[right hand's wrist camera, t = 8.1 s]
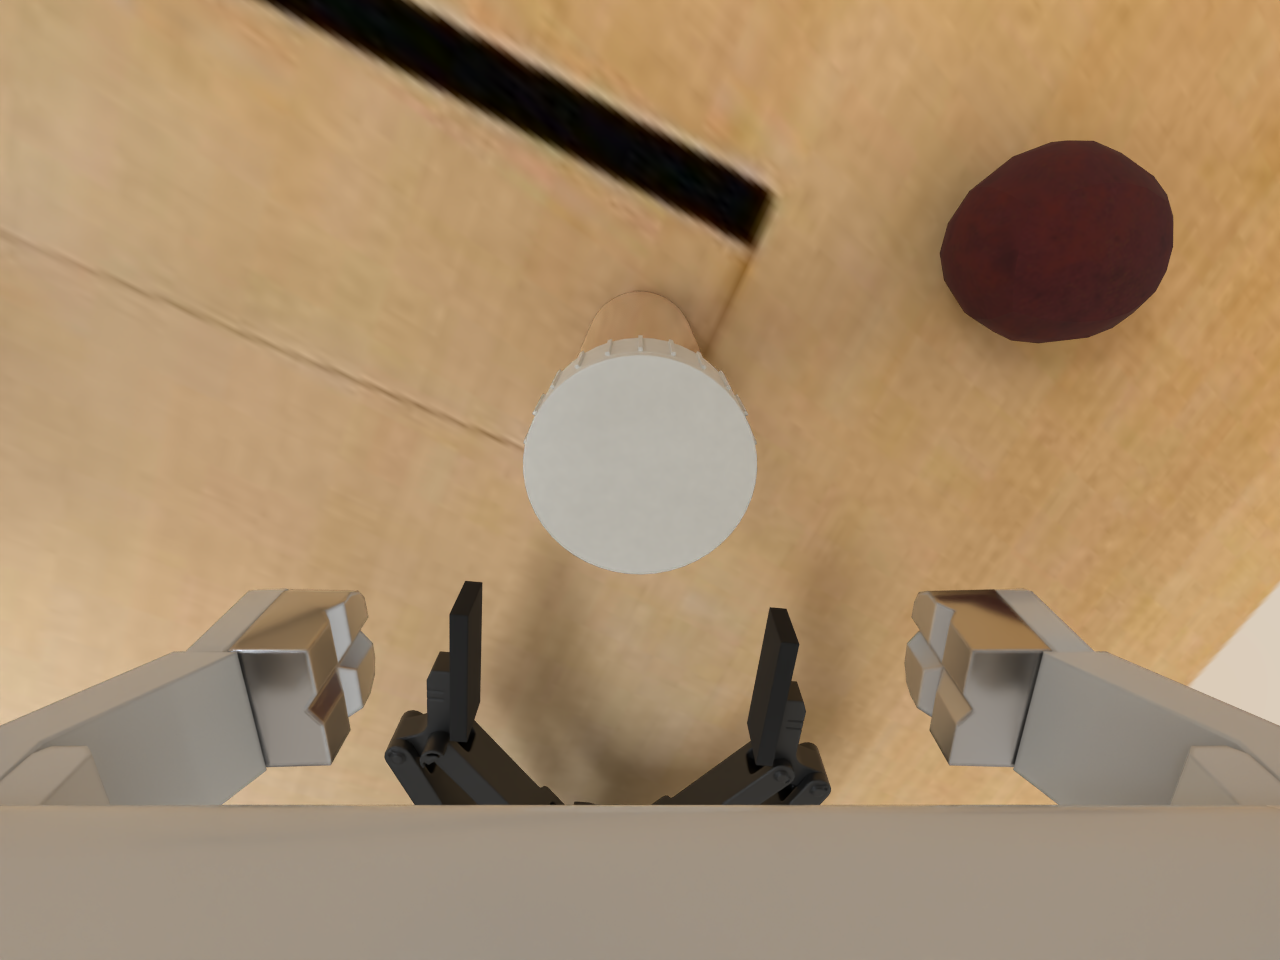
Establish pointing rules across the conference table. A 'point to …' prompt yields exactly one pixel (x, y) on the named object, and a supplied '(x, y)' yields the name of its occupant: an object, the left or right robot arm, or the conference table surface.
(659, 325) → the pinkish brown bottle
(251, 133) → the conference table surface
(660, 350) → the lid
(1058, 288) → the potato
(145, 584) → the conference table surface
